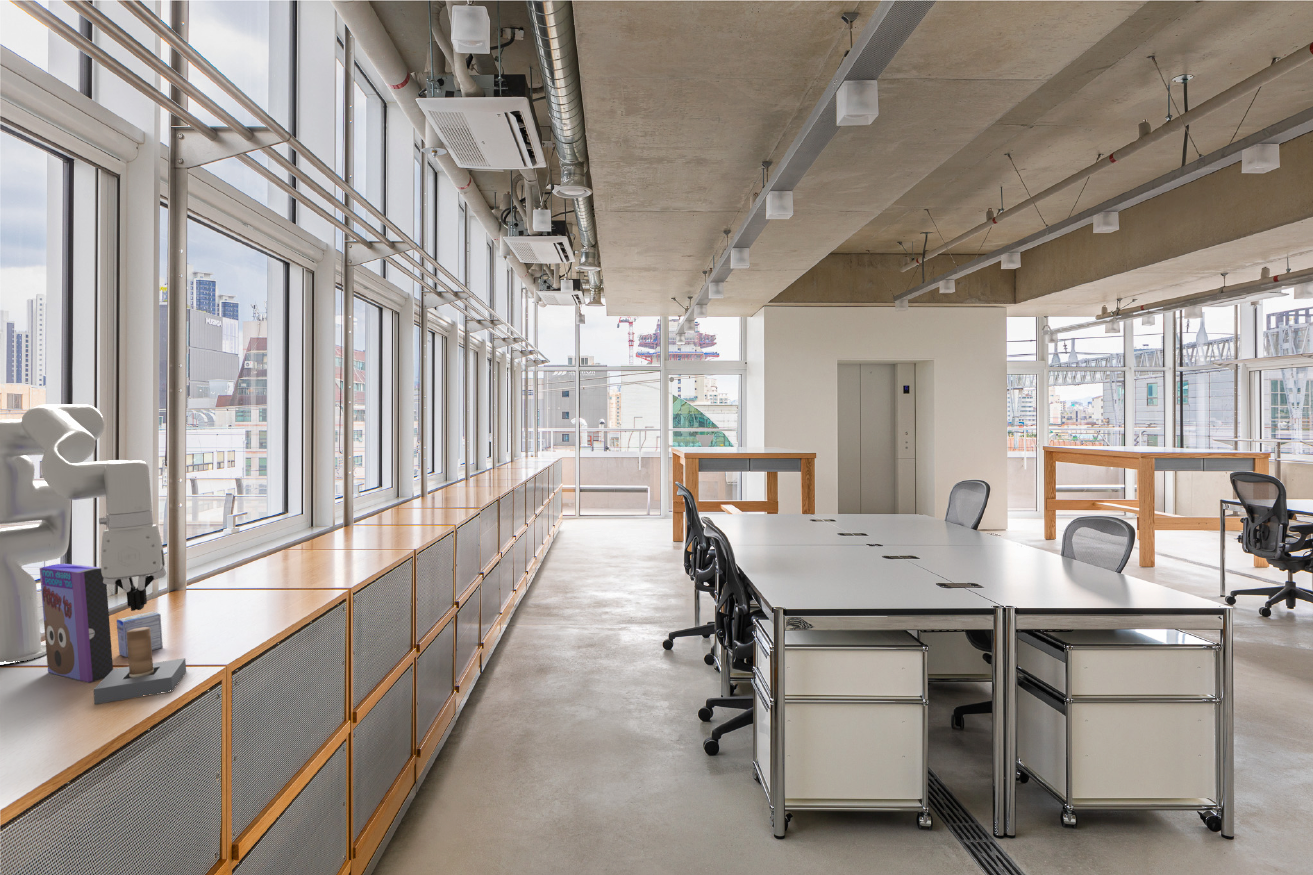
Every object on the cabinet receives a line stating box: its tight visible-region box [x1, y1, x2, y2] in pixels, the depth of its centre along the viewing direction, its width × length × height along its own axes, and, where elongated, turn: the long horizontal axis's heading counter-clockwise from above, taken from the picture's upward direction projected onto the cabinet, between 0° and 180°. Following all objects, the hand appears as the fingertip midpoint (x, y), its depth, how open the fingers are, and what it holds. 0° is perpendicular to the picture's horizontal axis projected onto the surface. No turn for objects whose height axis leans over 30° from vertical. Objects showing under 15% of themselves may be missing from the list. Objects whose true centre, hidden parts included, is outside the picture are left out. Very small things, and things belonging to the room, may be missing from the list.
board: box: [93, 657, 187, 705], centre depth 151 cm, size 13×13×3 cm
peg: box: [127, 627, 154, 678], centre depth 151 cm, size 4×4×12 cm
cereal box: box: [39, 563, 114, 684], centre depth 161 cm, size 17×5×24 cm, turn 62°
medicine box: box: [116, 611, 164, 658], centre depth 176 cm, size 8×4×9 cm, turn 144°
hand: (137, 608), depth 150 cm, fingers closed
